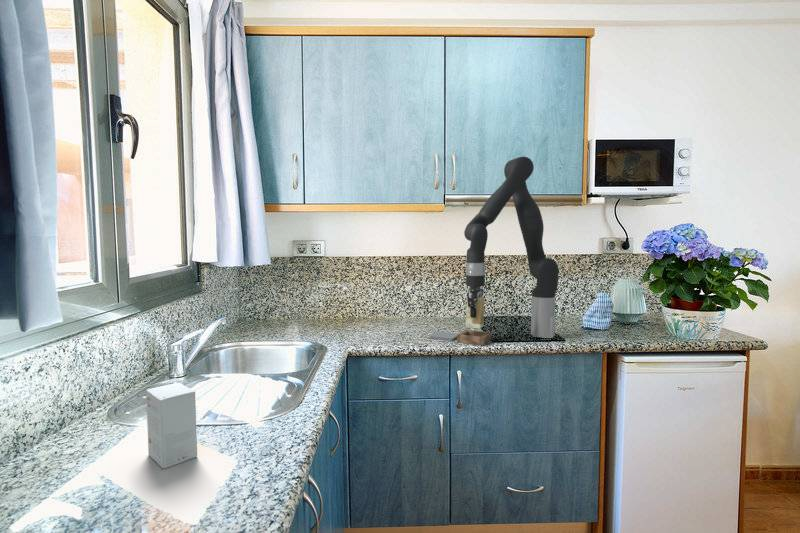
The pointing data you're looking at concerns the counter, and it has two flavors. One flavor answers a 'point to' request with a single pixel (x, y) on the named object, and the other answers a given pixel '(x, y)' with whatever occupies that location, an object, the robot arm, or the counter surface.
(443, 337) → the grey flat plate
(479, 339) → the walnut holder
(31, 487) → the counter surface
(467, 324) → the skincare box
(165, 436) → the small box
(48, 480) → the counter surface
